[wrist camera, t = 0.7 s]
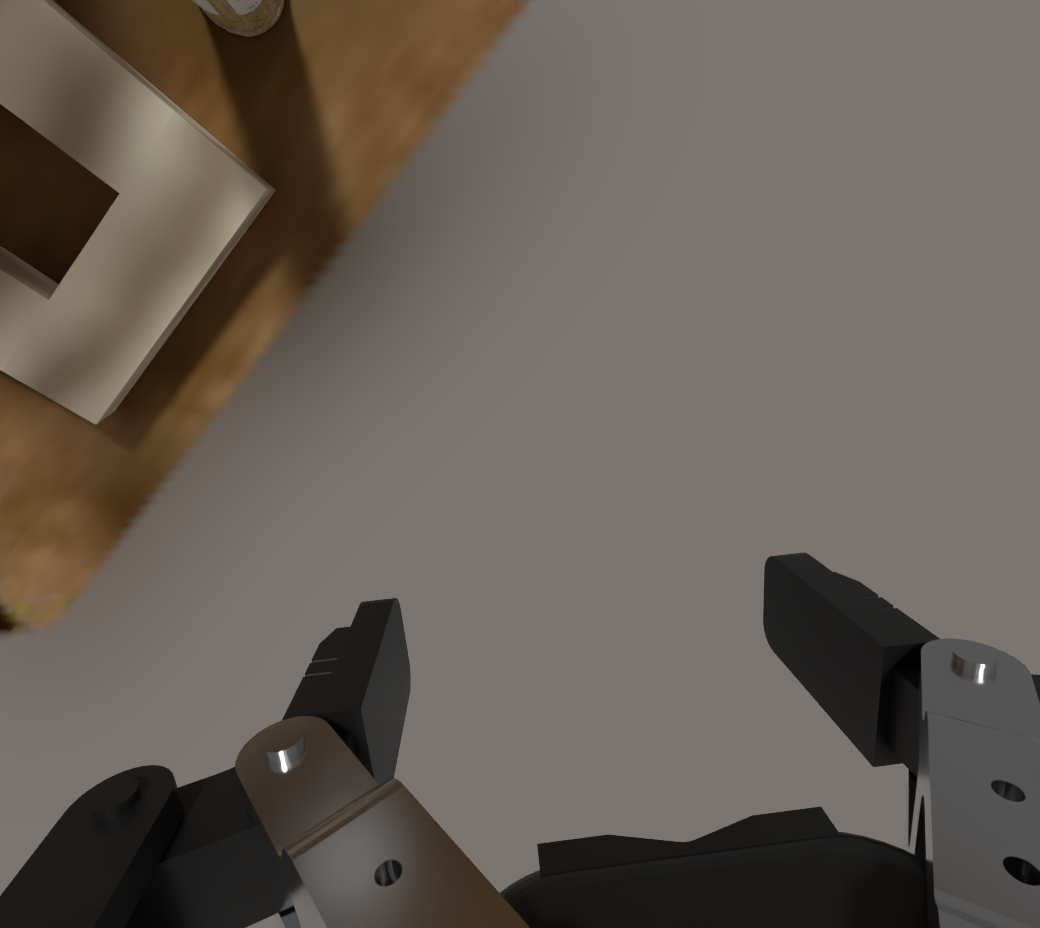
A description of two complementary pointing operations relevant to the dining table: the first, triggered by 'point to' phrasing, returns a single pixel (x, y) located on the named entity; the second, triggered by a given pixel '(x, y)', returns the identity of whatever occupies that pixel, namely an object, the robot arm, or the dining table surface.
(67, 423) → the dining table surface
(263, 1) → the sprinkles bottle
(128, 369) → the slotted board
